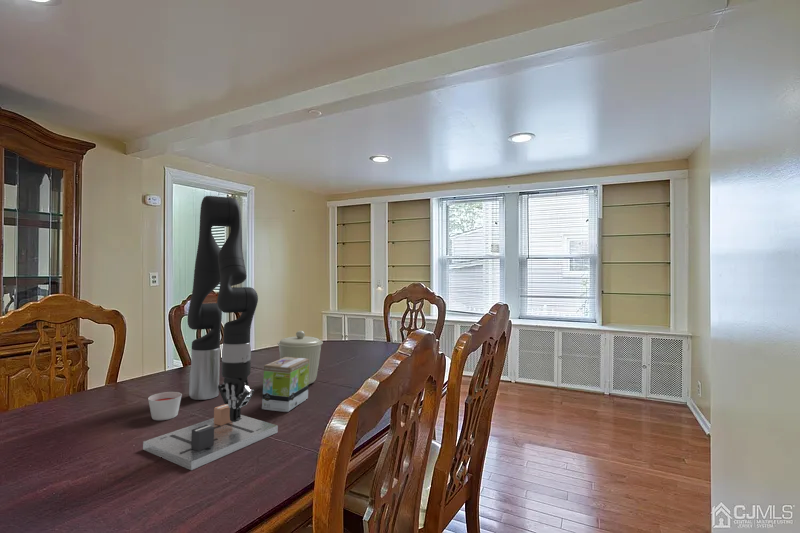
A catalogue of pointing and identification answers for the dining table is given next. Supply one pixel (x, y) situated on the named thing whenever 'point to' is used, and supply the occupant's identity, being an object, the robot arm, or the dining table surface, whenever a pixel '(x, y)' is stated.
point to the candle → (164, 405)
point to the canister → (302, 351)
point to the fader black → (202, 437)
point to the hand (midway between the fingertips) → (235, 420)
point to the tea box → (285, 383)
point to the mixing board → (225, 441)
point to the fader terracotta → (222, 415)
